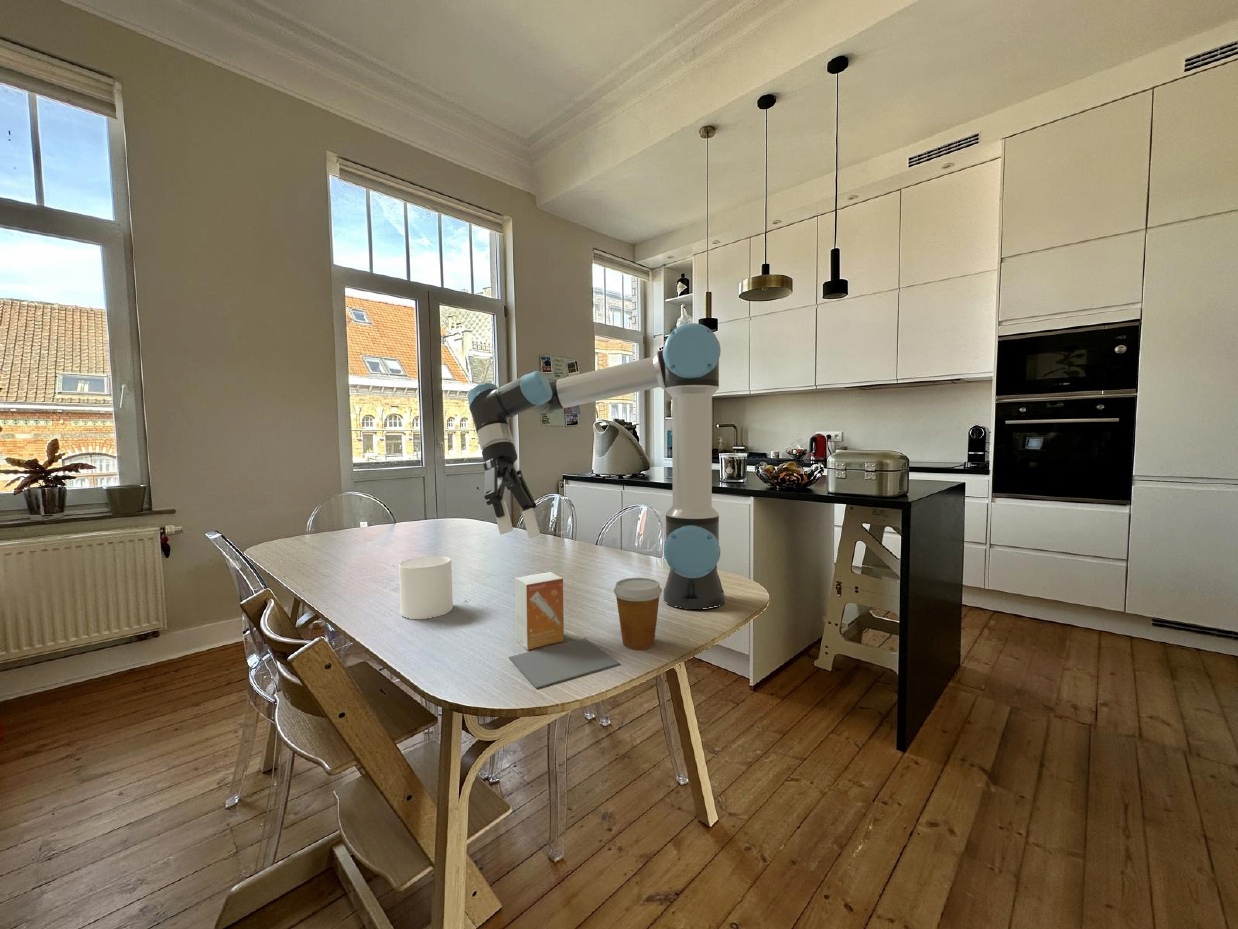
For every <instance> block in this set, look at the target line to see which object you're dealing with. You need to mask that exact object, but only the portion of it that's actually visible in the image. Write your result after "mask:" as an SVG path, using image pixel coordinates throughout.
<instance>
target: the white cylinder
mask: <svg viewBox="0 0 1238 929" xmlns="http://www.w3.org/2000/svg"><path fill="white" fill-rule="evenodd" d="M452 572H453V571H452V559H451V558H449V557H446V556H437V555H435V556H423V557H415V558H414V557H413V558H411V559H407V560H404V561H401V562H400V563H399V565H398V578H399V579H398V580H399V583H398V584H399V602H400V603H399V604H400V605H399V606H400V607H399V608H400V609H399V610H400V616H401V615H402V616H404V617H406V618H405V619H407V618H409V620H415V619H417V620H428V619H427V618H429V619H433V618H432V617H434V618H438V617H442V616H443V615H446V614H448V613H450V612H452V610H453V605H454V603H453V576H452ZM441 615H442V616H441ZM402 616H401V617H402ZM437 616H438V617H437ZM404 617H403V618H404Z"/></svg>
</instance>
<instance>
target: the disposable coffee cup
mask: <svg viewBox="0 0 1238 929" xmlns="http://www.w3.org/2000/svg"><path fill="white" fill-rule="evenodd" d="M662 591H663V590H662V587H661V585H660V582H659V581H658V580H655V579H652V578H649V577H648V578H647V577H628V578H624V579H620V580H618V581H617V582H616V583H615V587H614V588H613V593H614V595H615V597H616V604H617V611H618V620H619V626H620V633H621V639H622V640H621V641H622V645H623V646H624V647H625V648H627V649H630V650H646V649H647V650H648V649H650V648H651V647H653V646H654V645H655V639H656V630H657V621H658V612H659V603H660V597H661V594H662ZM649 647H650V648H649Z"/></svg>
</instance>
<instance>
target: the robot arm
mask: <svg viewBox="0 0 1238 929" xmlns="http://www.w3.org/2000/svg"><path fill="white" fill-rule="evenodd" d="M720 357H721V344H720V341H719V339H718V337H717V336H716V334H715V333H714V332H713V331H712V330H711V328H709V327H708V326H705V325H704V324H701V323H693V322H691V323H685V324H681V325H679V326H677V327H676V328H674V329H673V330H672V331H671V332H670V333H669V335H668V336H667V338H666V340H665V341H664V345H663V348H662V350H658V351H656V352H655V354H654V355H653V356H651V357H646V358H642V359H638V360H634V361H630V362H626V363H622V364H617V365H613V366H608V367H605V368H601V369H597V370H593V371H588V372H583V373H580V374H576V375H571V376H567V377H563V378H559V379H558V378H557V379H555V380H550V381H549V380H548V379H547V377H546V375H544V373H543V372H542V371H539V370H535V371H533V372H530V373H525V374H524V375H522V376H521V377H519V378H516V379H514V380H512V381H509V382H508V383H505V384H503V385H501V386H499V387H498V386H497V385H496V384H495V383H492V382H483V383H478V384H476V385H473V386H472V387H471V388H470V389H469V390H468V392H467V401H468V405H469V406H468V408H469V411H470V414H471V417H472V421H473V424H474V428H475V431H476V432H475V433H476V436H477V439H478V441H477V444H478V445H479V447H480V450H481V455H482V459H483V463H482V465H483V470H484V481H483V482H484V483H483V484H484V487H483V489H484V490H483V497H484V499H485V502H486V505H487V506H490V505H492V508H493V512H494V513H493V514H494V516H495V520H496V523H497V527H498V532H499V535H504V534H507V533H510V532H512V531H514V527H513V524H512V520H511V516H510V513H509V509H508V505H507V501H506V500H503V498H504V495H505V494H504V493H505V488H506V489H507V490H509V491H510V492H511V493H512V495H513V497H514V498H515V499H516V502H517V503H518V505H519V507H520V508H521V509H522V511H521V515H522V519H523V522H524V523H523V524H524V526H525V529H526V533H527V536H528V539H533V538H535V537H538V536H540V535H541V532H540V528H539V524H538V521H537V518H536V513H535V511H534V509H536V508H538V507H537V506H538V505H537V504H536V502H535V499H534V497H533V495H532V494H531V491H530V488H529V487H528V484H527V483H526V481H525V478H524V475H523V473H522V470H521V469H517V470H516V469H515V467H514V463H515V462H516V461H517V460H518V454H517V450H516V446H515V444H514V439H513V438H514V437H513V434H512V432H511V429H510V426H509V422H508V420H509V419H511V418H513V417H516V416H519V415H520V414H522V413H525V412H532V413H538V414H541V415H549V414H553V413H555V412H556V411H559V410H563V409H567V408H572V407H575V406H581V405H584V404H585V405H586V404H589V403H594V402H599V401H603V400H607V399H612V398H617V397H620V396H625V395H629V394H635V393H638V392H644V391H647V390H652V389H656V388H657V389H658V388H660V389H662V390H664V391H666V392H667V393H668V395H670V397H671V407H672V408H671V411H672V412H671V416H672V417H671V420H672V425H671V426H672V428H671V429H672V430H671V433H672V434H671V436H672V440H671V441H672V442H671V444H672V445H671V446H672V447H671V448H672V454H671V455H672V459H671V460H672V465H671V466H672V470H671V471H672V472H671V473H672V476H671V477H672V478H671V479H672V504H671V507H670V508H669V509H668V510H667V511H666V512H665V542H664V545H663V554H664V558H665V561H666V564H667V565H668V567H669V572H668V576H667V579H666V583H665V587H664V588H663V593H662V594H663V599H664V600H663V602H664V601H665V602H667V603H668V604H670V605H672V606H677V607H681V608H687V609H703V608H709V607H714V606H719V605H721V604H722V603H723V602H724V603H725V591H724V589H723V586H722V581H721V579H720V576H719V572H718V562H719V561H720V558H721V547H720V534H719V533H720V521H719V519H720V516H719V512H718V511H716V509H715V508H713V502H712V499H713V498H712V496H713V494H712V493H713V492H712V491H713V490H712V488H713V487H712V485H713V484H712V482H713V480H712V479H713V476H712V475H713V474H712V473H713V472H712V471H713V463H712V462H713V461H712V460H713V459H712V458H713V456H712V455H713V453H712V450H713V448H712V447H713V446H712V445H713V438H712V437H713V429H712V428H713V425H712V423H713V415H712V414H713V413H712V412H713V411H712V410H713V407H712V405H713V402H712V401H713V396H714V395H715V393H717V392H718V390H719V389H720ZM665 602H664V603H665ZM668 604H667V605H668ZM670 605H669V606H670ZM672 606H671V607H672ZM721 606H722V605H721ZM719 607H720V606H719ZM687 609H686V610H687Z"/></svg>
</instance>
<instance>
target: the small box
mask: <svg viewBox="0 0 1238 929" xmlns="http://www.w3.org/2000/svg"><path fill="white" fill-rule="evenodd" d="M514 609H515V610H514V612H515V613H514V614H515V616H514V617H515V619H514V620H515V623H514V624H515V625H514V626H515V640H516V642H517V643H519V644H520V645H521V646H522V647H523V648H524V649H526V651H528V650H529V651H530V650H532V649H536V648H540V647H544V646H548V645H552V644H558V643H560V642H562V643H563V642H564V641H565V635H564V634H565V632H564V629H565V628H564V622H565V621H564V618H565V617H564V616H565V615H564V578H563V577H562V576H560V575H558V574H555V573H554V572H552V571H548V572H541V573H535V574H528V575H524V576H520V577H519V576H518V577H514Z"/></svg>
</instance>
